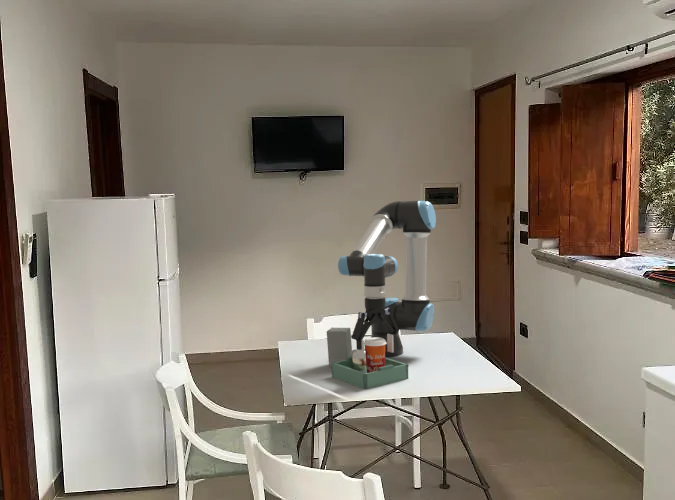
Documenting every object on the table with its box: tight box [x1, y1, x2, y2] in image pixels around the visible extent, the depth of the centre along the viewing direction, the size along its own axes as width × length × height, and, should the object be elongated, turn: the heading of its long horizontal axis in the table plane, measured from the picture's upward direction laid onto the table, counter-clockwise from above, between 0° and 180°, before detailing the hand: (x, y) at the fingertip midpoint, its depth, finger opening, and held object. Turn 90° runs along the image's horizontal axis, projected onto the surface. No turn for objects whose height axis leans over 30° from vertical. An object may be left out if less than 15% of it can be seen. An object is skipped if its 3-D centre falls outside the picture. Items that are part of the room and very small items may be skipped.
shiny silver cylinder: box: [352, 348, 367, 373], centre depth 245 cm, size 6×6×9 cm
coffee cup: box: [364, 337, 387, 373], centre depth 237 cm, size 8×8×15 cm
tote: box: [331, 356, 409, 390], centre depth 241 cm, size 20×20×7 cm
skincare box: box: [326, 327, 353, 369], centre depth 257 cm, size 8×7×16 cm
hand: (376, 355), depth 237 cm, fingers open, 13 cm apart
